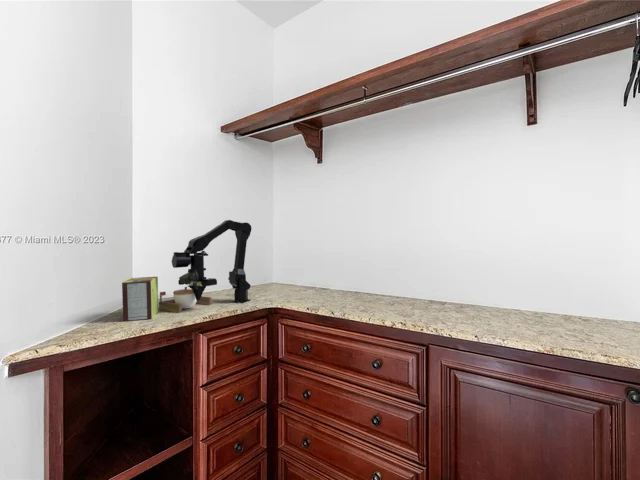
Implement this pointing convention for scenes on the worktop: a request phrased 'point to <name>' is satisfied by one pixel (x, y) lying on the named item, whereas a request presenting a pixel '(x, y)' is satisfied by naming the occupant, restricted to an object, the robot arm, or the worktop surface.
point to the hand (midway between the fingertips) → (198, 300)
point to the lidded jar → (185, 297)
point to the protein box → (140, 298)
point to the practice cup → (175, 307)
